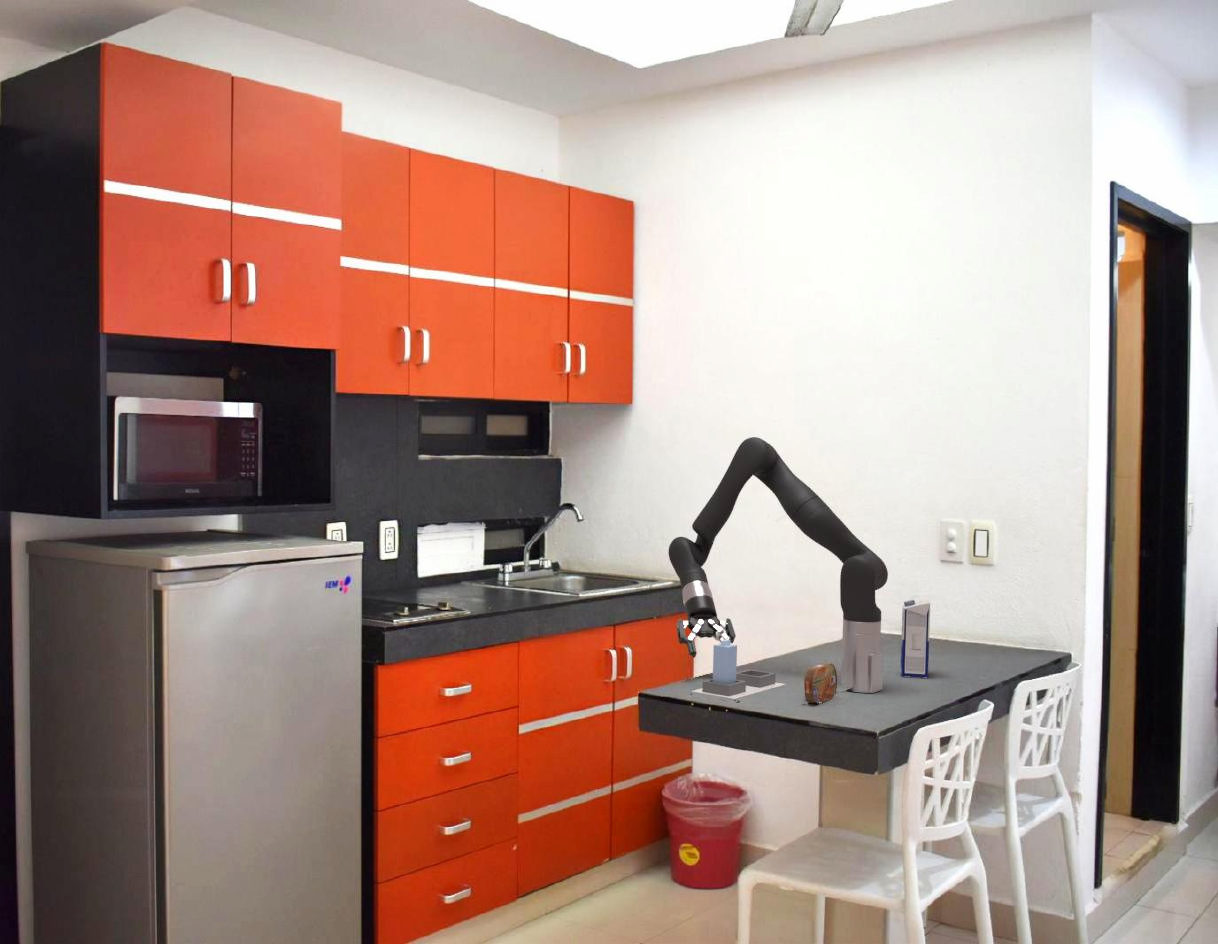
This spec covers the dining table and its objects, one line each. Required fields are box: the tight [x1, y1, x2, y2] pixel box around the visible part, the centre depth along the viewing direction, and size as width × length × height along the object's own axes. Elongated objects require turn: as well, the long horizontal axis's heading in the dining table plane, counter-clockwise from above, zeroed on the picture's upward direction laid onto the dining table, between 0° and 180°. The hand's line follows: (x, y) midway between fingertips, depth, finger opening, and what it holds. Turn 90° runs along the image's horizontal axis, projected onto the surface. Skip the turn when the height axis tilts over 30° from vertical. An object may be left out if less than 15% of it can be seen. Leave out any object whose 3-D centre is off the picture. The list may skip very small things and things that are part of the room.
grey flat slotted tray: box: [691, 669, 787, 701], centre depth 289 cm, size 12×24×4 cm, turn 142°
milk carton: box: [900, 599, 931, 678], centre depth 317 cm, size 7×7×20 cm
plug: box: [712, 640, 738, 685], centre depth 283 cm, size 4×4×12 cm
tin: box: [803, 662, 838, 705], centre depth 281 cm, size 15×3×8 cm, turn 148°
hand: (711, 655), depth 295 cm, fingers open, 8 cm apart
